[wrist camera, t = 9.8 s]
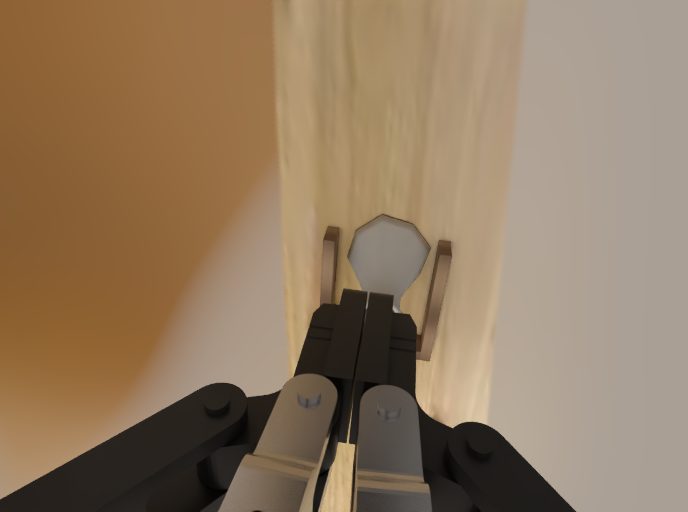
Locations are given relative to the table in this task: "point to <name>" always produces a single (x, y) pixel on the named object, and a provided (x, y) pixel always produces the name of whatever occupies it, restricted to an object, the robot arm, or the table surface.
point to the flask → (387, 257)
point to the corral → (434, 299)
